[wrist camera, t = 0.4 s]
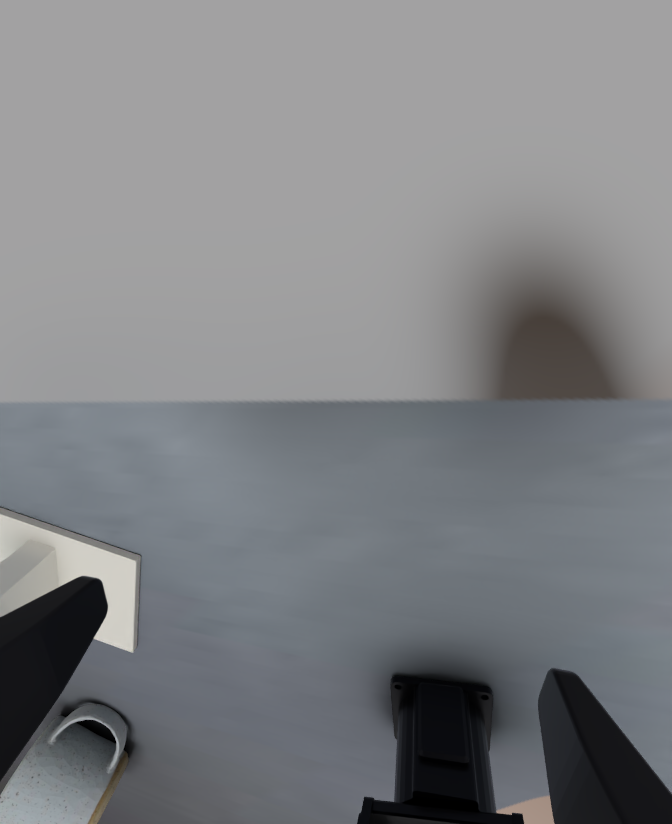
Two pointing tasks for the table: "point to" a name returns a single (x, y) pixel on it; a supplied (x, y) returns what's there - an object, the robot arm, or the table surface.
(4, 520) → the mat
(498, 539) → the table surface
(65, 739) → the ceramic mug
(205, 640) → the table surface
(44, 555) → the tile
